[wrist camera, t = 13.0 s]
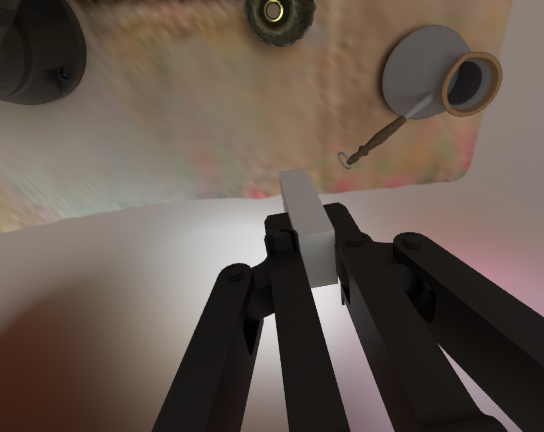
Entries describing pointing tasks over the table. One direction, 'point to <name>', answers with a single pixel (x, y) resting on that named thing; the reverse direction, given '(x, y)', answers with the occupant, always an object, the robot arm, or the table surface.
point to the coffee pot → (434, 80)
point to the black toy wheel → (279, 20)
